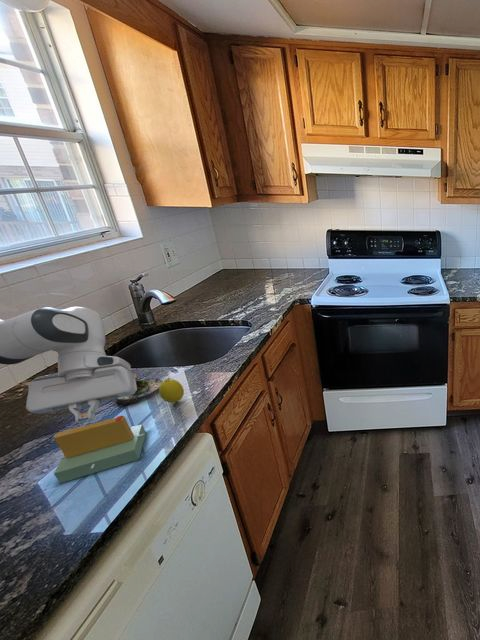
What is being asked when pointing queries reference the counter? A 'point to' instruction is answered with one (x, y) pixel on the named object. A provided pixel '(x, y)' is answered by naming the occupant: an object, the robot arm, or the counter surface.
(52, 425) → the counter surface
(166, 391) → the lemon
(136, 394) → the plate of food
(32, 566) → the counter surface
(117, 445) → the panel
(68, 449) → the mustard yellow rectangular block
